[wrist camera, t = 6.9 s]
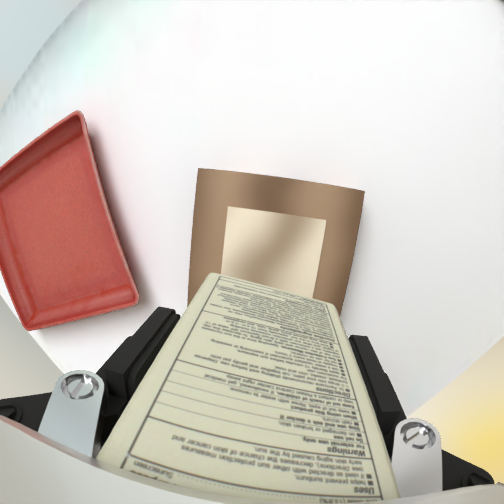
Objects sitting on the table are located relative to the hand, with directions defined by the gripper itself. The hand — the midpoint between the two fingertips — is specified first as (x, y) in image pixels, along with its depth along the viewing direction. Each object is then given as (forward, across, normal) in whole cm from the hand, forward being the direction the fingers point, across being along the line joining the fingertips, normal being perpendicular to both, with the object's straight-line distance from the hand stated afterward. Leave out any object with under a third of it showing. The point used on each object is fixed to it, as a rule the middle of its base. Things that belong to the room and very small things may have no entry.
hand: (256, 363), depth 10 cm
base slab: (+16, 0, 0) cm, 16 cm away
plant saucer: (+17, +22, +1) cm, 28 cm away
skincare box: (+2, 0, 0) cm, 2 cm away
